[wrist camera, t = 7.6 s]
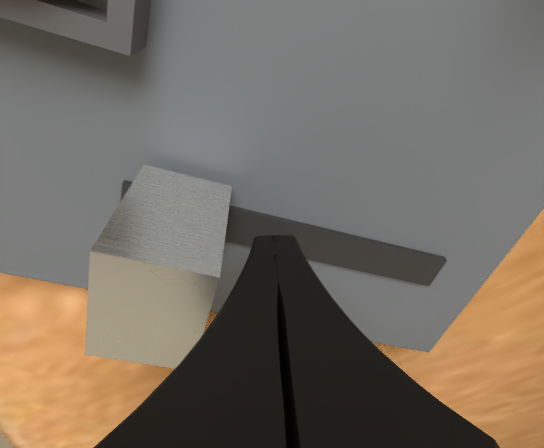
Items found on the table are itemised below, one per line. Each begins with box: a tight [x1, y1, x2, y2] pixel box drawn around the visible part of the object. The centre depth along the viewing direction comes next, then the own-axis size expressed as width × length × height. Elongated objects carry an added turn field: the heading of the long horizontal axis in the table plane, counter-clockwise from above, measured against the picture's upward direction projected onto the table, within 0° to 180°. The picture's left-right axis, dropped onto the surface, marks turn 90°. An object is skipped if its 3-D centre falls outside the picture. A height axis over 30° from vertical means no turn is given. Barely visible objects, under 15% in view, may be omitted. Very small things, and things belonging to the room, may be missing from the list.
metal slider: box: [85, 165, 232, 369], centre depth 9 cm, size 2×3×4 cm
